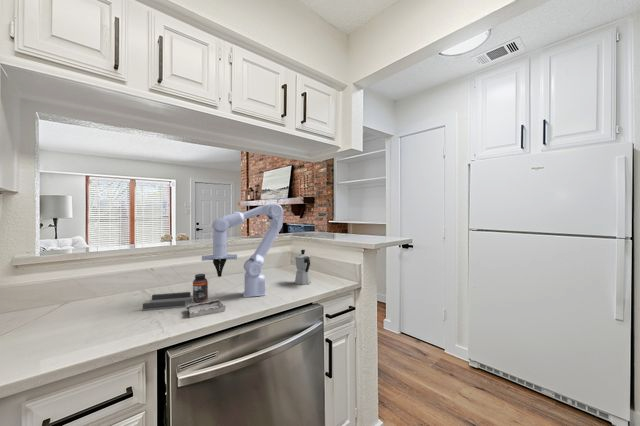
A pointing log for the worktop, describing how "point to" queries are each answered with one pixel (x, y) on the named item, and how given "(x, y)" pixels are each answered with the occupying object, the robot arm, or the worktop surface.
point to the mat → (168, 301)
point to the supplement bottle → (200, 288)
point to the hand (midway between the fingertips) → (219, 276)
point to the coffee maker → (302, 269)
